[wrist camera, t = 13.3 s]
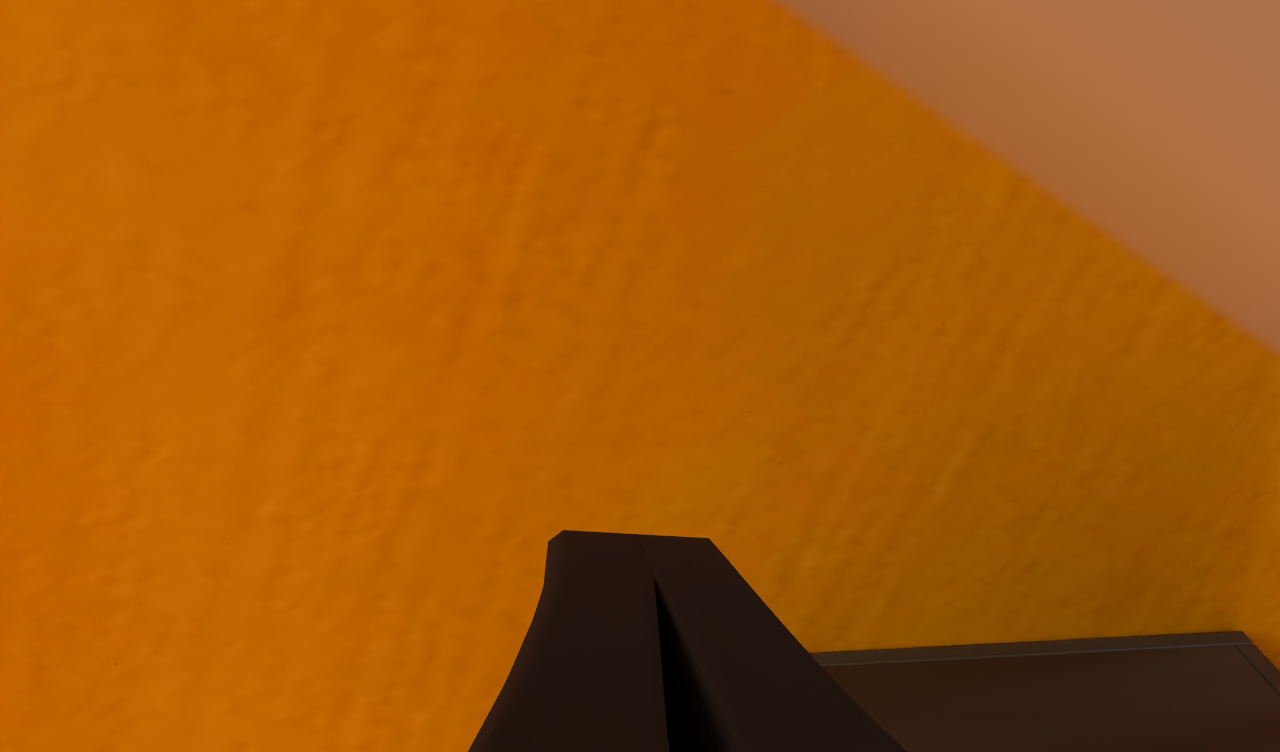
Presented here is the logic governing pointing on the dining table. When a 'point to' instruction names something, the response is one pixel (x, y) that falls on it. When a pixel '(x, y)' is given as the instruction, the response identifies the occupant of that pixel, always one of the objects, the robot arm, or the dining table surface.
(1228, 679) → the carton
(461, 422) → the dining table surface
